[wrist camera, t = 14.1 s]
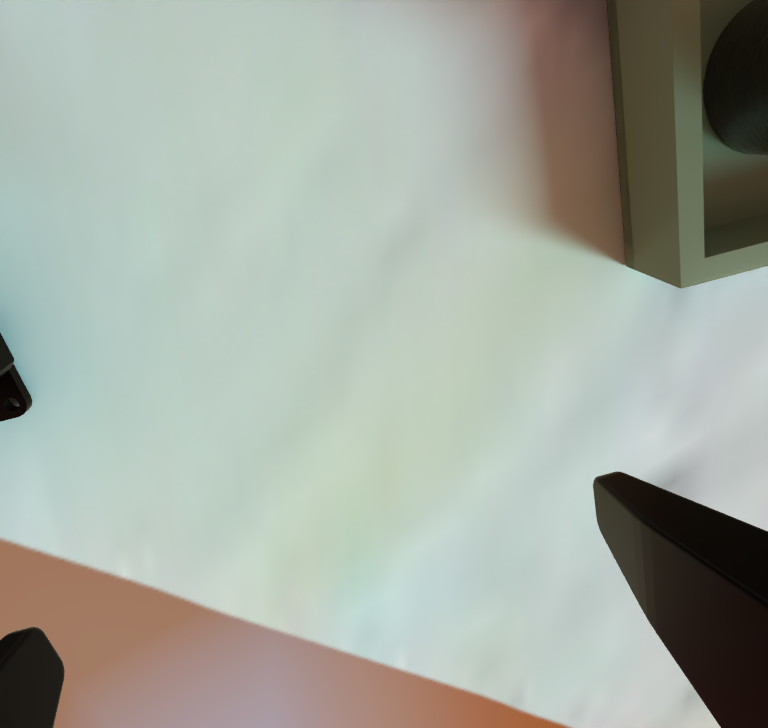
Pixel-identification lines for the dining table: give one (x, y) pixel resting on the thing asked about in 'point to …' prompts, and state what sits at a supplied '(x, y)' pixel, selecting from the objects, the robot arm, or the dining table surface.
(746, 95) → the battery cell
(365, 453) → the dining table surface
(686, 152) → the cup
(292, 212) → the dining table surface
